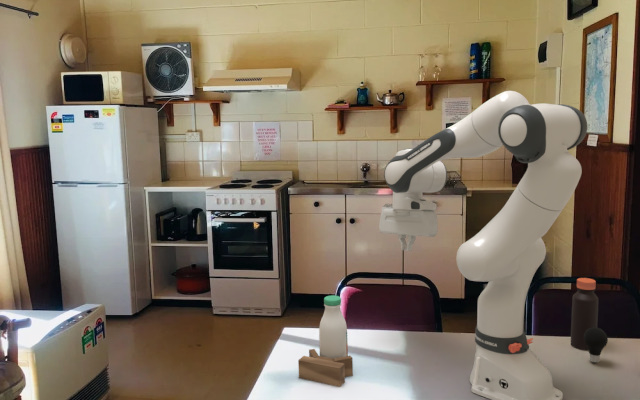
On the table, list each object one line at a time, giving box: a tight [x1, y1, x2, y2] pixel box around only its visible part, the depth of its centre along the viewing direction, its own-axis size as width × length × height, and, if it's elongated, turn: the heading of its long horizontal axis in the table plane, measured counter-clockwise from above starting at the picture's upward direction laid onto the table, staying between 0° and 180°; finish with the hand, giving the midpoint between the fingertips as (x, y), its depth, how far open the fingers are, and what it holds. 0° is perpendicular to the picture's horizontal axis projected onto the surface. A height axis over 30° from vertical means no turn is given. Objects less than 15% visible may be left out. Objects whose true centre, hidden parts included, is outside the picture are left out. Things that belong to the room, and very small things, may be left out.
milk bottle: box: [318, 294, 349, 359], centre depth 148 cm, size 8×8×20 cm
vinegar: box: [570, 277, 599, 351], centre depth 158 cm, size 7×7×20 cm
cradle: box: [298, 348, 354, 387], centre depth 145 cm, size 8×13×5 cm, turn 63°
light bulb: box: [584, 326, 609, 364], centre depth 148 cm, size 6×6×10 cm
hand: (406, 250), depth 161 cm, fingers closed
